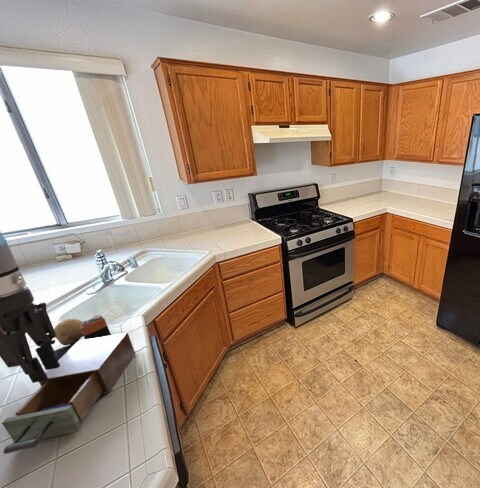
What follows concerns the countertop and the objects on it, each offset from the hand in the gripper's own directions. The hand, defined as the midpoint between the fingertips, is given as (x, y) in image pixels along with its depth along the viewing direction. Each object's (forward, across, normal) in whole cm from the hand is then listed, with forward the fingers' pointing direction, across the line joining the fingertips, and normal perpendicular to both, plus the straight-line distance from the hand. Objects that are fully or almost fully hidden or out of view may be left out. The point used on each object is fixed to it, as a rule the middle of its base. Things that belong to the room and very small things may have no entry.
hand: (46, 373), depth 66 cm
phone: (+14, +25, +16) cm, 33 cm away
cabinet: (+14, +13, 0) cm, 19 cm away
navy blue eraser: (+12, -2, 0) cm, 12 cm away
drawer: (+13, -2, 0) cm, 13 cm away
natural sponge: (+14, +35, +19) cm, 42 cm away
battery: (+14, +33, +10) cm, 37 cm away
